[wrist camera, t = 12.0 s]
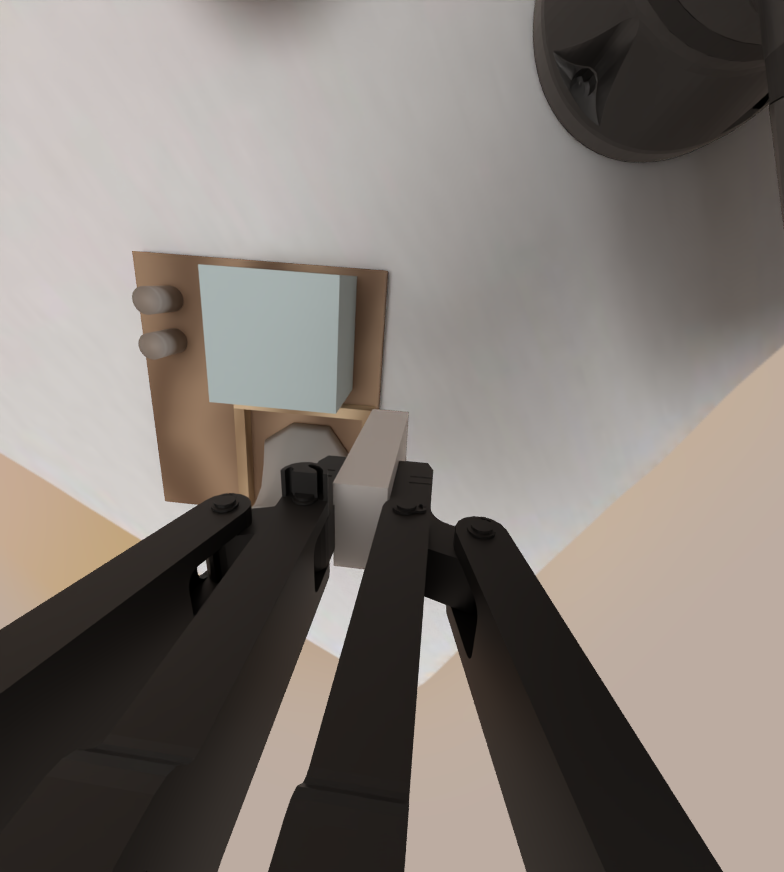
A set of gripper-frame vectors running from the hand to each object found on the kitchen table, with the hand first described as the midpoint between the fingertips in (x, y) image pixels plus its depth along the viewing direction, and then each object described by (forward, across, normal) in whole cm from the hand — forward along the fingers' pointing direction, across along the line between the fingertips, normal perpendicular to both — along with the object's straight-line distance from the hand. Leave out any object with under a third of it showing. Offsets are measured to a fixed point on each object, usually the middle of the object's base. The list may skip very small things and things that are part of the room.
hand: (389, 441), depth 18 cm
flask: (+14, +8, +8) cm, 18 cm away
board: (+15, +12, +3) cm, 19 cm away
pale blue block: (+14, +8, -2) cm, 16 cm away
